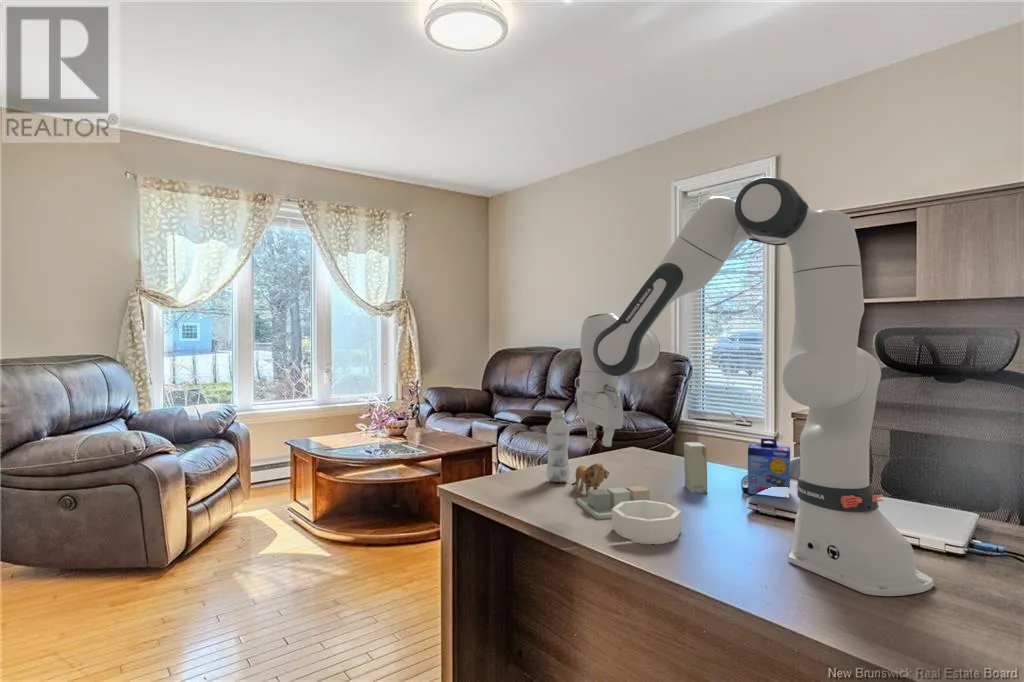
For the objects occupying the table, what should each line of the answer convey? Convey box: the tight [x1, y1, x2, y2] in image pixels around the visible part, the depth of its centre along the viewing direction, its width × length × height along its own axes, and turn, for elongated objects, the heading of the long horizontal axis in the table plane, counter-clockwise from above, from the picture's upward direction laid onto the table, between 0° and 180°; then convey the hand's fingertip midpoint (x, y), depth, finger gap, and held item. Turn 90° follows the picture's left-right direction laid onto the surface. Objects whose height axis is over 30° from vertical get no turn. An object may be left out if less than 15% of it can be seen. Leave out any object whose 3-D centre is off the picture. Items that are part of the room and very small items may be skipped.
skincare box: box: [683, 441, 708, 494], centre depth 149 cm, size 6×4×12 cm
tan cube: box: [625, 485, 651, 501], centre depth 135 cm, size 4×4×4 cm
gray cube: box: [587, 488, 610, 512], centre depth 133 cm, size 4×4×4 cm
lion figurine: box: [571, 462, 610, 497], centre depth 147 cm, size 15×5×9 cm, turn 27°
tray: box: [576, 496, 612, 520], centre depth 134 cm, size 13×16×1 cm
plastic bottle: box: [545, 409, 571, 483], centre depth 158 cm, size 6×7×20 cm
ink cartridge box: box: [747, 437, 791, 495], centre depth 145 cm, size 10×6×14 cm, turn 64°
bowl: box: [611, 500, 682, 545], centre depth 118 cm, size 13×13×5 cm
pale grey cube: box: [606, 486, 630, 508], centre depth 134 cm, size 4×4×4 cm
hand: (599, 441), depth 133 cm, fingers open, 8 cm apart
